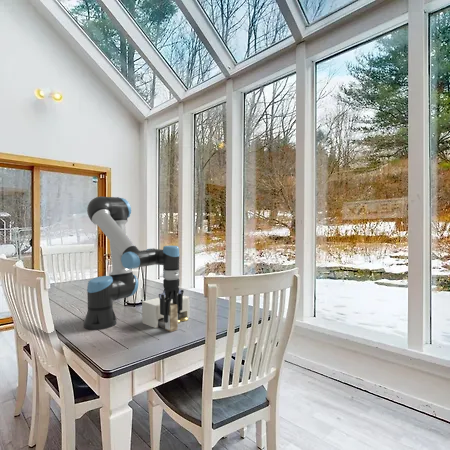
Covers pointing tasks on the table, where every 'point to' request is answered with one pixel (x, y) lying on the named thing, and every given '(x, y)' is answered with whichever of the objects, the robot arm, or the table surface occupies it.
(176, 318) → the hook
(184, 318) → the gold domed disc
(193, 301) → the table surface
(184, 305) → the cabinet
